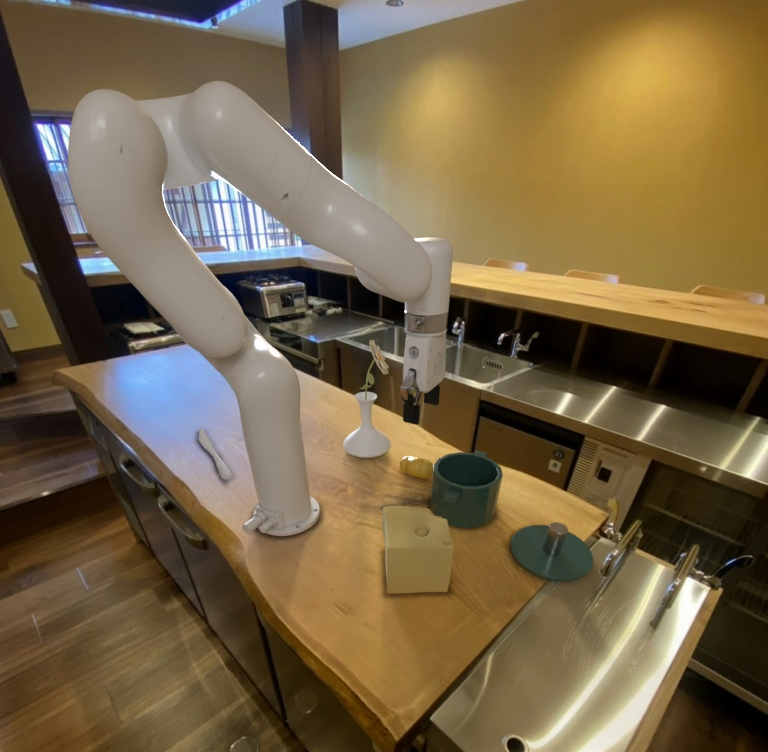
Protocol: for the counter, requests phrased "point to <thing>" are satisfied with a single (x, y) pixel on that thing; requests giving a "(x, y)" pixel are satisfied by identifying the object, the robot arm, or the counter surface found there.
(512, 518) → the counter surface
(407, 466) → the yellow capsule
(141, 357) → the counter surface
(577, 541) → the lid
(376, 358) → the flower in vase
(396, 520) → the cheese
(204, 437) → the butter knife
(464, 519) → the pot
